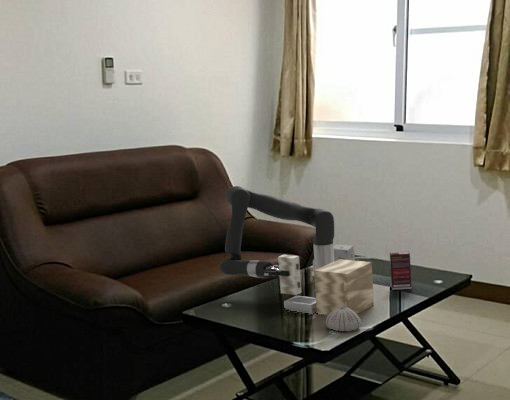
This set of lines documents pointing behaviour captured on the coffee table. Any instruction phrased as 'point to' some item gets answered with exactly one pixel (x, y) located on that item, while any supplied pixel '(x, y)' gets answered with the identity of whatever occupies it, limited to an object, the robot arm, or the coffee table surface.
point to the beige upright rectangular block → (293, 281)
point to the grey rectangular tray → (301, 304)
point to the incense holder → (344, 252)
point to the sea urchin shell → (343, 319)
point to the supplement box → (400, 270)
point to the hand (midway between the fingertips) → (292, 272)
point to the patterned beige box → (343, 286)
